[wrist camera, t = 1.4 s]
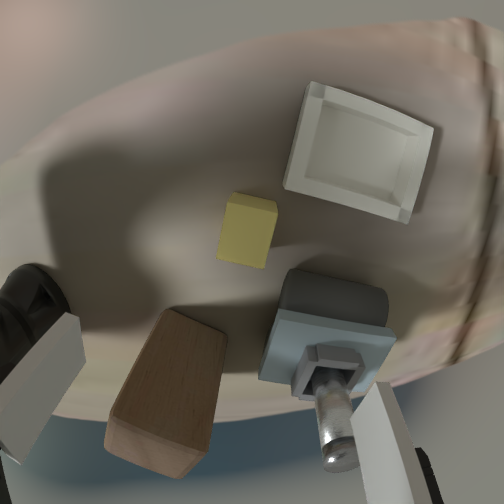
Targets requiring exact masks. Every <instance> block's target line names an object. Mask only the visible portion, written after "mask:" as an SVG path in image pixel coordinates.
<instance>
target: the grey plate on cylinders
mask: <svg viewBox="0 0 504 504" xmlns="http://www.w3.org/2000/svg"><path fill="white" fill-rule="evenodd" d="M388 309H389V304H388V297H387V294H386V292H385V291H384V290H383V289H382V288H378V287H373V286H369V285H364V284H359V283H355V282H350V281H346V280H341V279H337V278H332V277H327V276H323V275H318V274H314V273H309V272H305V271H300V270H296V269H290V270H289V271H288V273H287V275H286V277H285V280H284V283H283V286H282V290H281V294H280V299H279V304H278V311H277V315H276V318H275V321H274V323H272V324H271V326H270V328H269V331H268V334H267V337H266V341H265V345H264V350H263V355H262V360H261V363H260V366H259V373H258V380H263V381H269V382H275V383H282V384H289V385H291V393H292V396H295V397H299V400H305V401H314V394H313V388H312V381H311V375H312V373H313V371H314V369H315V367H316V366H323V367H330V368H339V369H342V371H343V374H344V378H345V382H346V385H347V389H348V392H349V394H350V393H351V391H357V392H365V390H366V389H367V387H368V386H369V384H370V383H371V381H372V380H373V378H374V376H375V375H376V373H377V372H378V370H379V368H380V367H381V365H382V363H383V362H384V360H385V358H386V357H387V355H388V353H389V352H390V350H391V348H392V346H393V344H394V343H395V341H396V339H397V337H396V336H395V334H394V332H393V330H392V329H391V328H386V327H385V324H386V321H387V317H388Z"/></svg>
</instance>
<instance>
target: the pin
mask: <svg viewBox="0 0 504 504" xmlns="http://www.w3.org/2000/svg"><path fill="white" fill-rule="evenodd" d="M311 381H312V388H313V394H314V401H315V407H316V413H317V421H318V428H319V435H320V442H321V450H322V457H323V465H324V470H326V471H327V472H332V473H339V472H345V471H349V470H352V469H354V468H357V467H358V466H360V462H359V457H358V452H357V448H356V443H355V438H354V434H353V430H352V425H351V421H350V418H351V416H352V415H353V413H354V411H353V408H352V403H351V400H350V396H349V392H348V389H347V385H346V382H345V378H344V374H343V371H342V369H339V368H330V367H323V366H316V367H315V369H314V371H313V373H312V375H311Z"/></svg>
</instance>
